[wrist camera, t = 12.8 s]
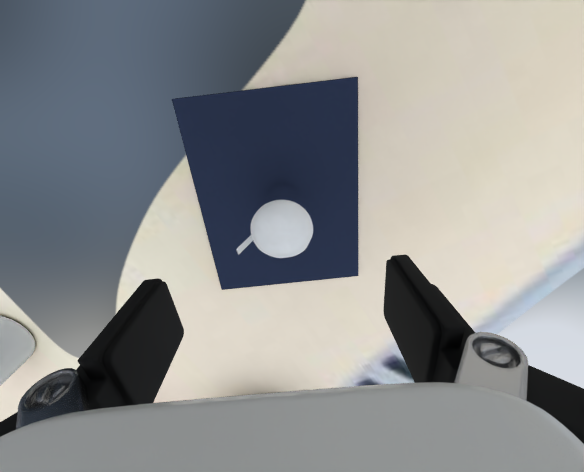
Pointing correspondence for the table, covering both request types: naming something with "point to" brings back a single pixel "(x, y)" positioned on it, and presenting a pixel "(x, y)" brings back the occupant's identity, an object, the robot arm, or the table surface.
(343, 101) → the mouse pad
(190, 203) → the table surface
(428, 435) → the robot arm
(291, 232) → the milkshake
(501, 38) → the table surface
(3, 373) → the pill bottle
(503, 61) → the table surface
